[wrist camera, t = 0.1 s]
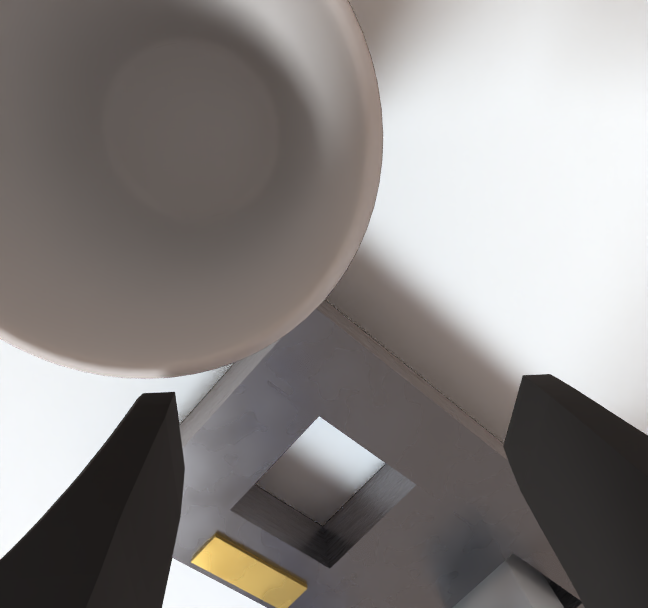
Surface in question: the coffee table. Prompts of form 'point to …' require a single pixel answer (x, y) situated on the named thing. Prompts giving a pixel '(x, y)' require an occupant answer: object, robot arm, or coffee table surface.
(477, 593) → the plug
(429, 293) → the coffee table surface
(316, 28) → the mug
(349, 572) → the panel
